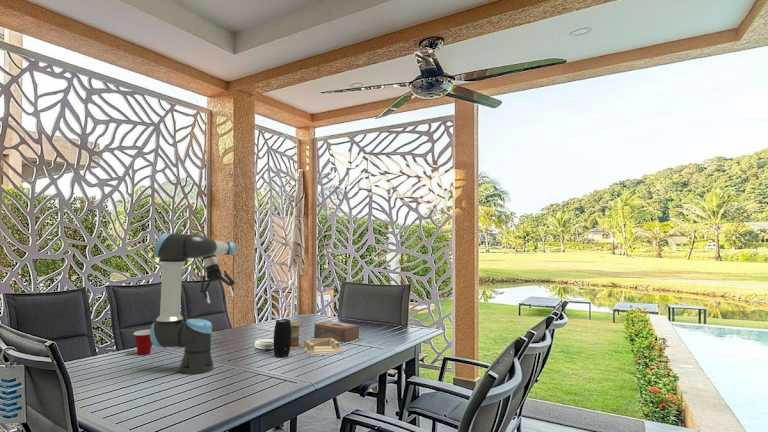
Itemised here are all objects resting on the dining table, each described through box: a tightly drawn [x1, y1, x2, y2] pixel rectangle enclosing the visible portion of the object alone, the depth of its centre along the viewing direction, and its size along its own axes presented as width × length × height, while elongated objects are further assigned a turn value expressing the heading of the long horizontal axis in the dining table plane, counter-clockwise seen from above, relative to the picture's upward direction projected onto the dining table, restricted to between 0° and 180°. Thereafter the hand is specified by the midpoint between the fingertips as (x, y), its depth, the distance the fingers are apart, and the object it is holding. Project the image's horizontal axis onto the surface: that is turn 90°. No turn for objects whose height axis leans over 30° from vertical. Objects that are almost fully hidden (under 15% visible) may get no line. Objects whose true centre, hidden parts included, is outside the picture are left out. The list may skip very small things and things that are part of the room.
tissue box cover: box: [313, 320, 360, 343], centre depth 272 cm, size 26×14×10 cm, turn 59°
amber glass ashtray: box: [301, 338, 344, 355], centre depth 240 cm, size 18×19×6 cm
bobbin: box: [290, 321, 304, 350], centre depth 247 cm, size 8×8×14 cm
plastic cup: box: [133, 328, 153, 356], centre depth 224 cm, size 11×11×12 cm
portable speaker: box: [273, 318, 291, 358], centre depth 228 cm, size 9×9×20 cm
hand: (221, 299), depth 243 cm, fingers open, 13 cm apart
